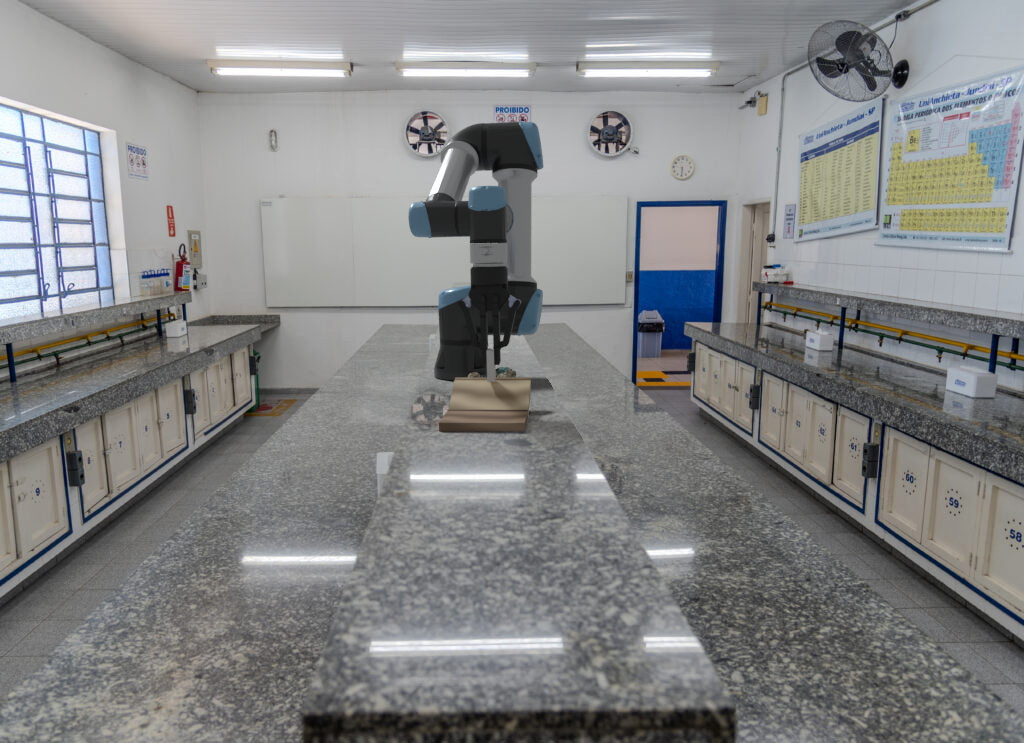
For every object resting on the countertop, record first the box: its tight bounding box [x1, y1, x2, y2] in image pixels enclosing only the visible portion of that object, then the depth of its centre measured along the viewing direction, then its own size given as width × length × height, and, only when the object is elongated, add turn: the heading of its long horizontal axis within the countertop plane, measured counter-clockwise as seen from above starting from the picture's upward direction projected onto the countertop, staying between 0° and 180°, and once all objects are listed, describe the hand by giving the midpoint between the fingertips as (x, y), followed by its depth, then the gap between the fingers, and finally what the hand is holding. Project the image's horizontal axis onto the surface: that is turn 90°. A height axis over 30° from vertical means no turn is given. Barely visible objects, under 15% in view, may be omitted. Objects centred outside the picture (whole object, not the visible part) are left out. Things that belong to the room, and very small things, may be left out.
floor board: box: [438, 409, 529, 432], centre depth 134 cm, size 10×16×2 cm, turn 85°
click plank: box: [448, 376, 532, 416], centre depth 144 cm, size 10×16×2 cm, turn 85°
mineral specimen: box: [468, 366, 517, 377], centre depth 159 cm, size 12×9×8 cm
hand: (491, 380), depth 145 cm, fingers closed
